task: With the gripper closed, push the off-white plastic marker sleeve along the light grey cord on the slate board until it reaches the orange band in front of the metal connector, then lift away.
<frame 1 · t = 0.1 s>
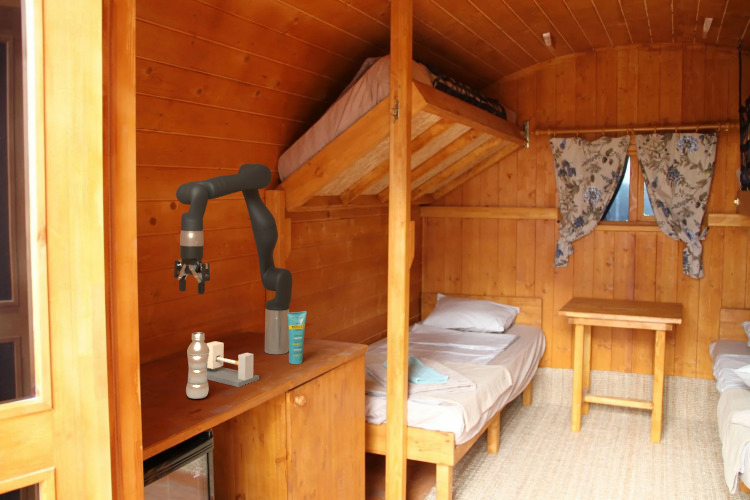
hand: (191, 292, 222), 29 cm above the table, fingers open, 8 cm apart
cord board: (224, 377, 226), on the table
sleeve: (213, 354, 228), point 7 cm above the table, slide at 0.0 cm
plastic bottle: (197, 398, 204), on the table
tube: (295, 363, 248), on the table
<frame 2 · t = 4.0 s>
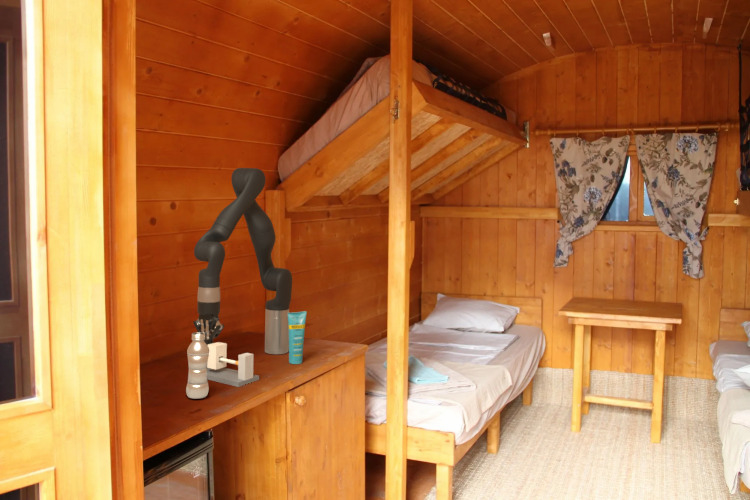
hand: (208, 349, 229), 9 cm above the table, fingers closed
sleeve: (217, 355, 227), point 7 cm above the table, slide at 1.4 cm, touching gripper
everything else where it was.
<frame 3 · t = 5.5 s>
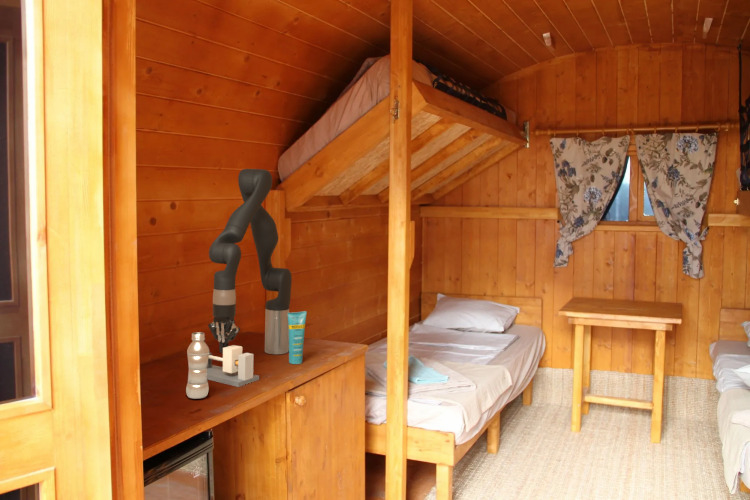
hand: (223, 352, 225), 9 cm above the table, fingers closed
sleeve: (232, 359, 223), point 7 cm above the table, slide at 8.6 cm, touching gripper
everything else where it was.
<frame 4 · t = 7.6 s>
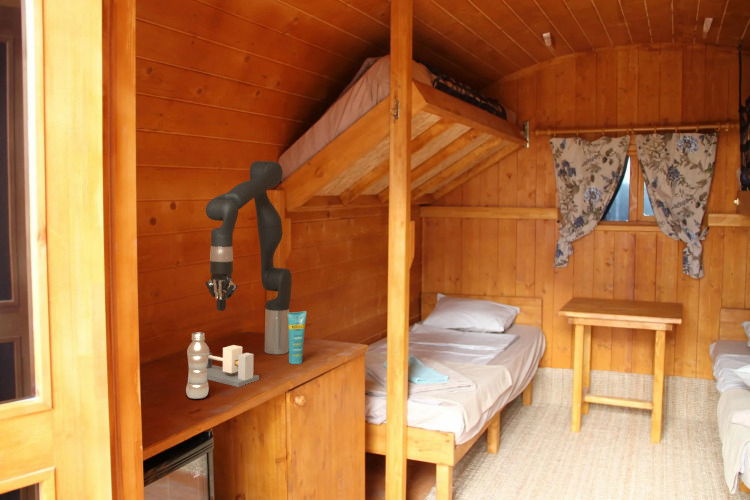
hand: (221, 310, 225), 23 cm above the table, fingers closed
sleeve: (232, 359, 223), point 7 cm above the table, slide at 8.6 cm
everything else where it was.
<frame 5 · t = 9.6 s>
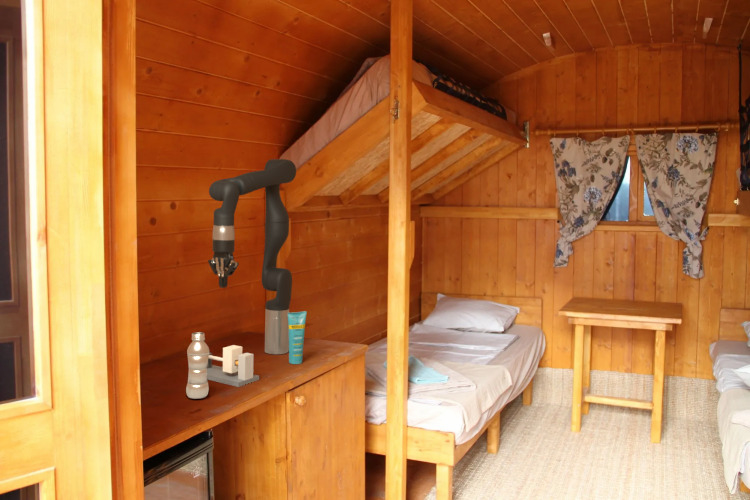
hand: (223, 287, 234), 29 cm above the table, fingers closed
nothing on the table moved.
at the end: sleeve slide at 8.6 cm; the gripper is holding nothing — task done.
